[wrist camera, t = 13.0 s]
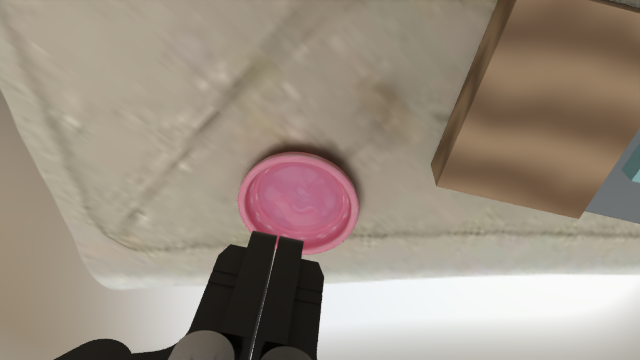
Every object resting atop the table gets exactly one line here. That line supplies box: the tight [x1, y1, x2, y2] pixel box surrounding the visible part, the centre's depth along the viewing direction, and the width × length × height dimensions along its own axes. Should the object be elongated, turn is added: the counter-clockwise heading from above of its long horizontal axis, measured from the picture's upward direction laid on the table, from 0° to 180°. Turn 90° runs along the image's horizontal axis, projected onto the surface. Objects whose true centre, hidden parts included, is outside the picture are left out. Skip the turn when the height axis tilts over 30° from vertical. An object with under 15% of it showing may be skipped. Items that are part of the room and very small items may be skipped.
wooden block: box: [431, 0, 640, 219], centre depth 40 cm, size 18×14×4 cm
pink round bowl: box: [238, 152, 359, 255], centre depth 48 cm, size 12×12×3 cm
